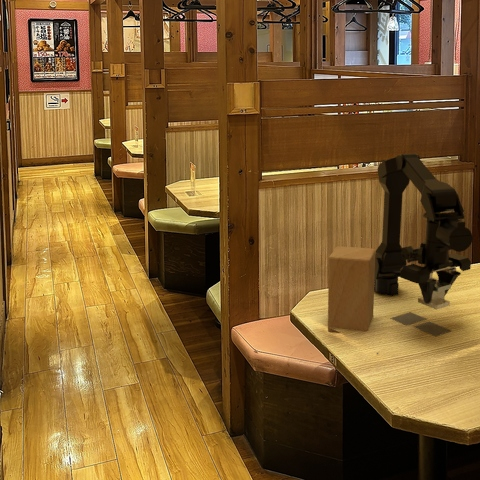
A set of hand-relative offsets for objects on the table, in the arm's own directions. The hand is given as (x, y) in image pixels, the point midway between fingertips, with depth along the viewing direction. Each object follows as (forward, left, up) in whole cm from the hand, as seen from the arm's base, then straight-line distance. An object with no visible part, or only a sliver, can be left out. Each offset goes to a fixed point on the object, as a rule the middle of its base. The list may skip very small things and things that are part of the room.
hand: (433, 301), depth 162 cm
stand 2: (0, 0, -9) cm, 9 cm away
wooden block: (-15, -13, -9) cm, 22 cm away
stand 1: (-8, 0, -9) cm, 12 cm away
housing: (0, 0, -1) cm, 1 cm away
